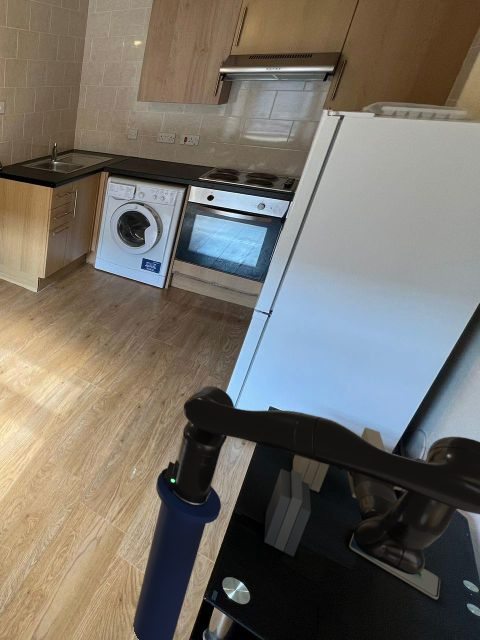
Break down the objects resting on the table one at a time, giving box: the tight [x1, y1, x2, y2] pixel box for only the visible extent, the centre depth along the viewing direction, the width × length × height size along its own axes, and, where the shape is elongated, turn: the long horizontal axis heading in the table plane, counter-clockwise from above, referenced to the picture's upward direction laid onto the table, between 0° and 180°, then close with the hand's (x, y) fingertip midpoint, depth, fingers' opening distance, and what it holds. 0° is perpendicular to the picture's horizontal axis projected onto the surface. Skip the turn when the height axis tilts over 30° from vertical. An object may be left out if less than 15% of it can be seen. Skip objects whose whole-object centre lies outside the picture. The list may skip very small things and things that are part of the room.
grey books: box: [263, 468, 312, 557], centre depth 101 cm, size 6×10×16 cm, turn 143°
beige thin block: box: [347, 426, 386, 499], centre depth 112 cm, size 3×11×16 cm, turn 142°
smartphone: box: [348, 532, 441, 600], centre depth 97 cm, size 7×1×15 cm
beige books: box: [292, 455, 330, 493], centre depth 119 cm, size 6×10×17 cm, turn 143°
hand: (365, 455), depth 113 cm, fingers closed on beige thin block, 3 cm apart
